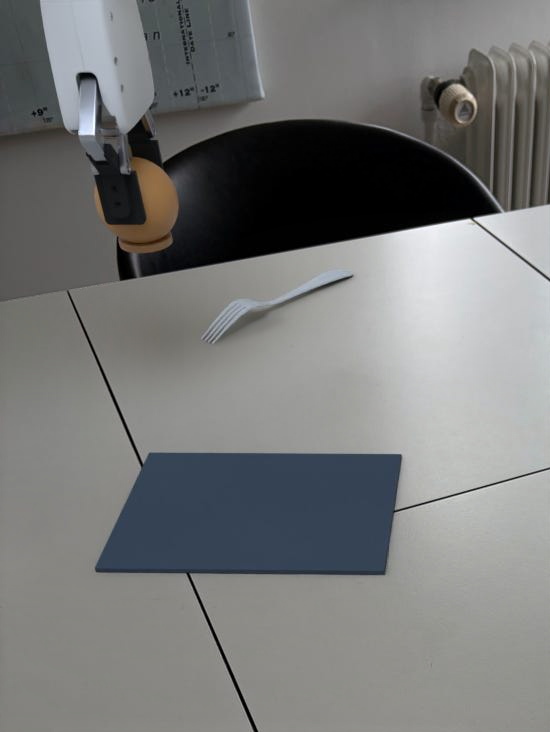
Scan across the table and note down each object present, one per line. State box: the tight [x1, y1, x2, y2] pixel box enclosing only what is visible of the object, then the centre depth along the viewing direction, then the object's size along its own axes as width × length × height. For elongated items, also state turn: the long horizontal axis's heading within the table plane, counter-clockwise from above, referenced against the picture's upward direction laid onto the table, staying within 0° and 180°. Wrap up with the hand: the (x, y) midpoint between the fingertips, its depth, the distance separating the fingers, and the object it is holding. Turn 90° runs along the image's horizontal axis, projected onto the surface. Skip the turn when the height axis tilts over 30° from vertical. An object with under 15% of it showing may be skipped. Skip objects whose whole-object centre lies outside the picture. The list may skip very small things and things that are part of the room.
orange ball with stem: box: [94, 145, 180, 254], centre depth 85 cm, size 7×7×8 cm
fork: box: [200, 268, 354, 345], centre depth 112 cm, size 3×21×3 cm, turn 142°
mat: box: [94, 451, 403, 576], centre depth 84 cm, size 22×16×1 cm
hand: (137, 204), depth 86 cm, fingers closed on orange ball with stem, 6 cm apart
